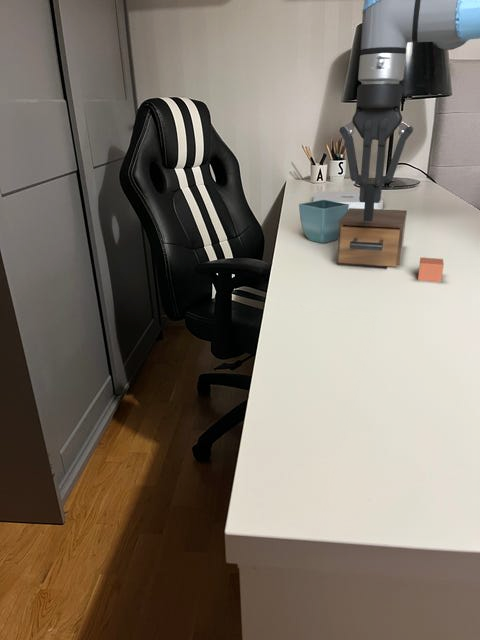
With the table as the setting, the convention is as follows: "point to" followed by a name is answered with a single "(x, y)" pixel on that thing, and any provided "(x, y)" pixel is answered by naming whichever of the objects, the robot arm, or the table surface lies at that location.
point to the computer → (345, 198)
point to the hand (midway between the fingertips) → (368, 219)
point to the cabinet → (379, 220)
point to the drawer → (369, 245)
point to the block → (430, 269)
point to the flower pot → (322, 219)
